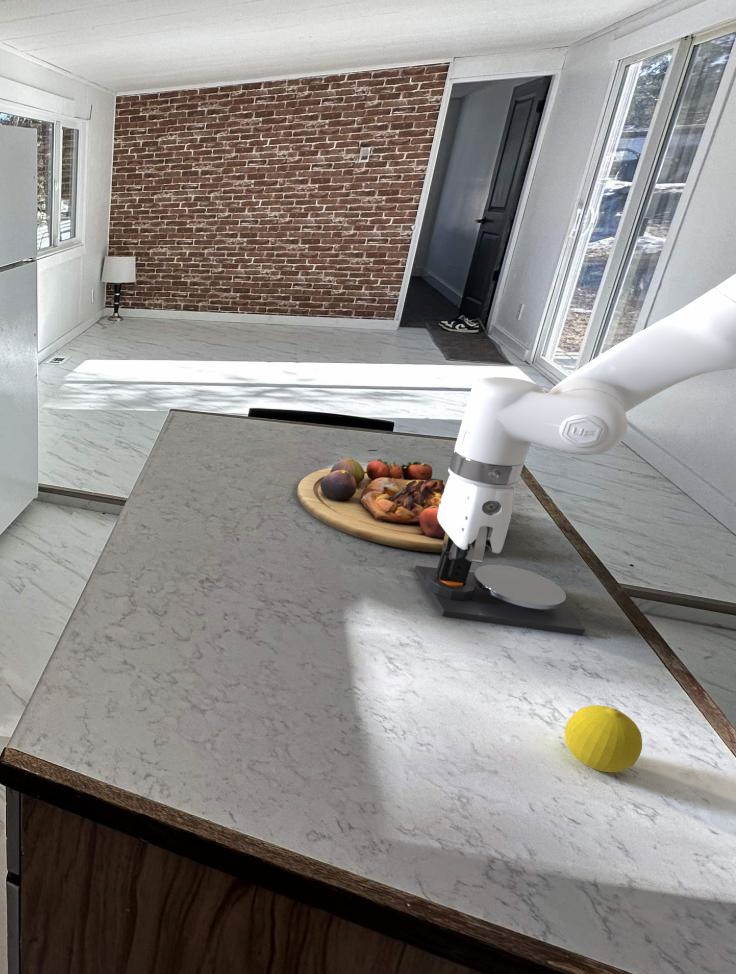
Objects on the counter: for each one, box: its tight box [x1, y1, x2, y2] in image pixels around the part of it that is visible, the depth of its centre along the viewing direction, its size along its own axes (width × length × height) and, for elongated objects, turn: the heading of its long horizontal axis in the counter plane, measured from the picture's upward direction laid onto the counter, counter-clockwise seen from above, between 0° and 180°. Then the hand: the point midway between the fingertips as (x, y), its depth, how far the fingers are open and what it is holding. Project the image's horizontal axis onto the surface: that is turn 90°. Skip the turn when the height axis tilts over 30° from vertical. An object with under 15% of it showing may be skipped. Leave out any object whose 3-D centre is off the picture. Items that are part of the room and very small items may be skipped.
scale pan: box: [474, 564, 567, 610], centre depth 92 cm, size 10×10×1 cm
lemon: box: [564, 704, 643, 773], centre depth 67 cm, size 6×6×8 cm
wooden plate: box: [296, 457, 487, 553], centre depth 120 cm, size 32×32×8 cm
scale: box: [413, 565, 585, 637], centre depth 94 cm, size 16×12×4 cm
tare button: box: [439, 578, 463, 587], centre depth 95 cm, size 3×3×2 cm
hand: (450, 578), depth 95 cm, fingers closed
